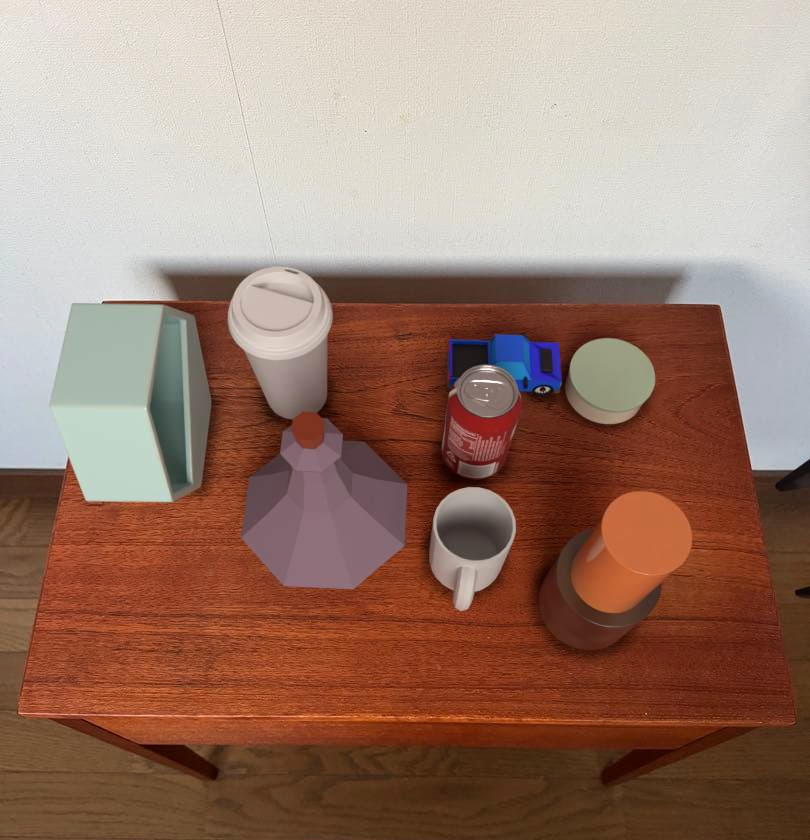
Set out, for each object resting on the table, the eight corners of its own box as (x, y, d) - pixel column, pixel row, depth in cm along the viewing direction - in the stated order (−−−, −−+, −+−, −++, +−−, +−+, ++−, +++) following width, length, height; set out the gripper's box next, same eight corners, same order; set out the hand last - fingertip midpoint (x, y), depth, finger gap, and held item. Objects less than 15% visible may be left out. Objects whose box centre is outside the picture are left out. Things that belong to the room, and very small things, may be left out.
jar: (650, 366, 81) (660, 348, 78) (639, 434, 77) (649, 419, 74) (570, 347, 81) (577, 329, 78) (556, 414, 78) (562, 398, 75)
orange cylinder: (653, 551, 63) (697, 503, 54) (641, 622, 61) (686, 585, 51) (578, 531, 64) (609, 481, 54) (563, 601, 61) (594, 561, 52)
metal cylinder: (637, 573, 71) (668, 541, 63) (624, 661, 68) (654, 639, 60) (547, 550, 72) (566, 516, 64) (529, 636, 69) (547, 611, 61)
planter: (214, 480, 79) (153, 513, 59) (143, 479, 79) (56, 512, 59) (208, 319, 76) (142, 296, 56) (134, 318, 76) (40, 294, 56)
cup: (504, 530, 73) (519, 492, 65) (495, 627, 69) (509, 600, 61) (433, 520, 73) (438, 481, 65) (419, 616, 69) (423, 588, 61)
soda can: (498, 489, 74) (516, 431, 63) (434, 474, 75) (441, 412, 64) (511, 434, 77) (532, 368, 66) (449, 419, 78) (459, 351, 66)
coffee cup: (359, 390, 79) (353, 297, 65) (298, 449, 76) (278, 364, 62) (295, 342, 81) (276, 242, 67) (233, 397, 78) (200, 305, 64)
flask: (379, 435, 77) (376, 311, 58) (435, 575, 71) (451, 486, 52) (227, 482, 74) (173, 368, 56) (272, 631, 68) (228, 558, 50)
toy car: (557, 404, 79) (567, 377, 74) (446, 400, 78) (449, 374, 74) (554, 352, 81) (563, 324, 77) (446, 349, 81) (449, 320, 76)
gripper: (957, 305, 46) (721, 401, 57) (1050, 582, 39) (758, 632, 50) (1002, 376, 53) (783, 451, 64) (1089, 625, 46) (824, 661, 57)
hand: (786, 539), depth 58 cm, fingers open, 9 cm apart
